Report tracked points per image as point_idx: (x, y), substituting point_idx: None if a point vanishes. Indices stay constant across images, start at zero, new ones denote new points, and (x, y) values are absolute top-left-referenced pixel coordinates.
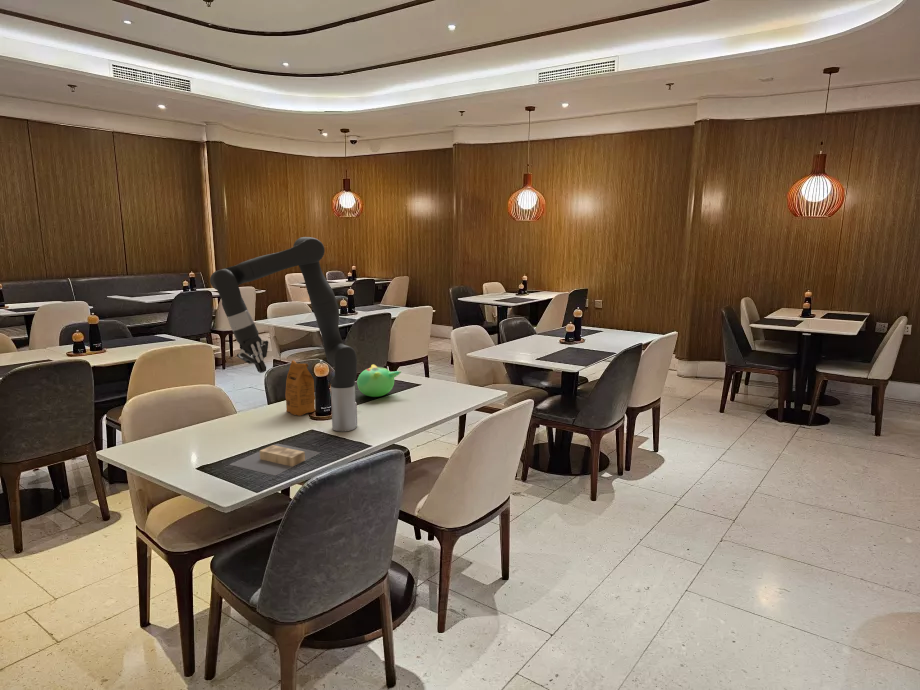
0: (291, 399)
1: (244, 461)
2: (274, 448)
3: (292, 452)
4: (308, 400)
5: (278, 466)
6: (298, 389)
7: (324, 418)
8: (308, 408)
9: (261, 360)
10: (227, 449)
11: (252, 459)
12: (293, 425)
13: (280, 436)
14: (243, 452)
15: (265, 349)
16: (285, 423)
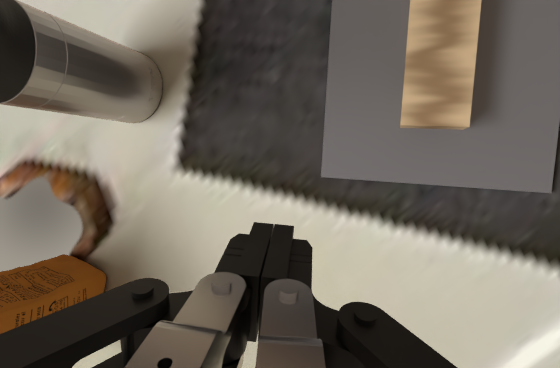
0: None
1: (503, 162)
2: (427, 94)
3: (437, 5)
4: (45, 273)
5: (496, 25)
6: (28, 304)
7: (94, 195)
8: (71, 263)
9: (244, 280)
10: (418, 299)
11: (476, 151)
12: (171, 242)
13: (259, 217)
14: (420, 232)
15: (46, 341)
16: (166, 275)
